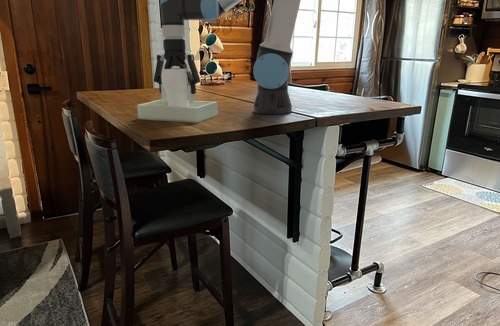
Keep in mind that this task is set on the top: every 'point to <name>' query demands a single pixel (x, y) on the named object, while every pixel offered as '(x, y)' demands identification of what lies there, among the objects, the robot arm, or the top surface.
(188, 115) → the white shallow tray
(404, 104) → the top surface
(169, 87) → the cup
